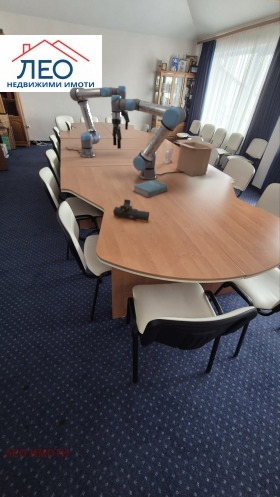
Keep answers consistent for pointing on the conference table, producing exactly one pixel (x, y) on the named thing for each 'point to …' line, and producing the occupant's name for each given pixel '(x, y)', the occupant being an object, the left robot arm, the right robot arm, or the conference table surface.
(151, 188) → the book
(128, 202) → the laser sight
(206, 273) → the conference table surface
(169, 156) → the ink cartridge box
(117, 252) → the conference table surface
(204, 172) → the box
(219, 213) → the conference table surface
